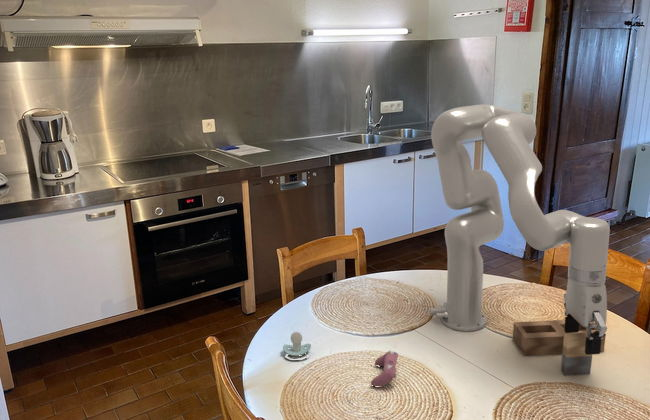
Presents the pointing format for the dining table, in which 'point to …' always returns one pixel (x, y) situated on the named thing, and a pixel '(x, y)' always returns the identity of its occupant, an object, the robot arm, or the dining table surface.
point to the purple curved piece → (386, 369)
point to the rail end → (575, 355)
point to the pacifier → (297, 346)
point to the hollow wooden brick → (543, 337)
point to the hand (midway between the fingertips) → (581, 342)
